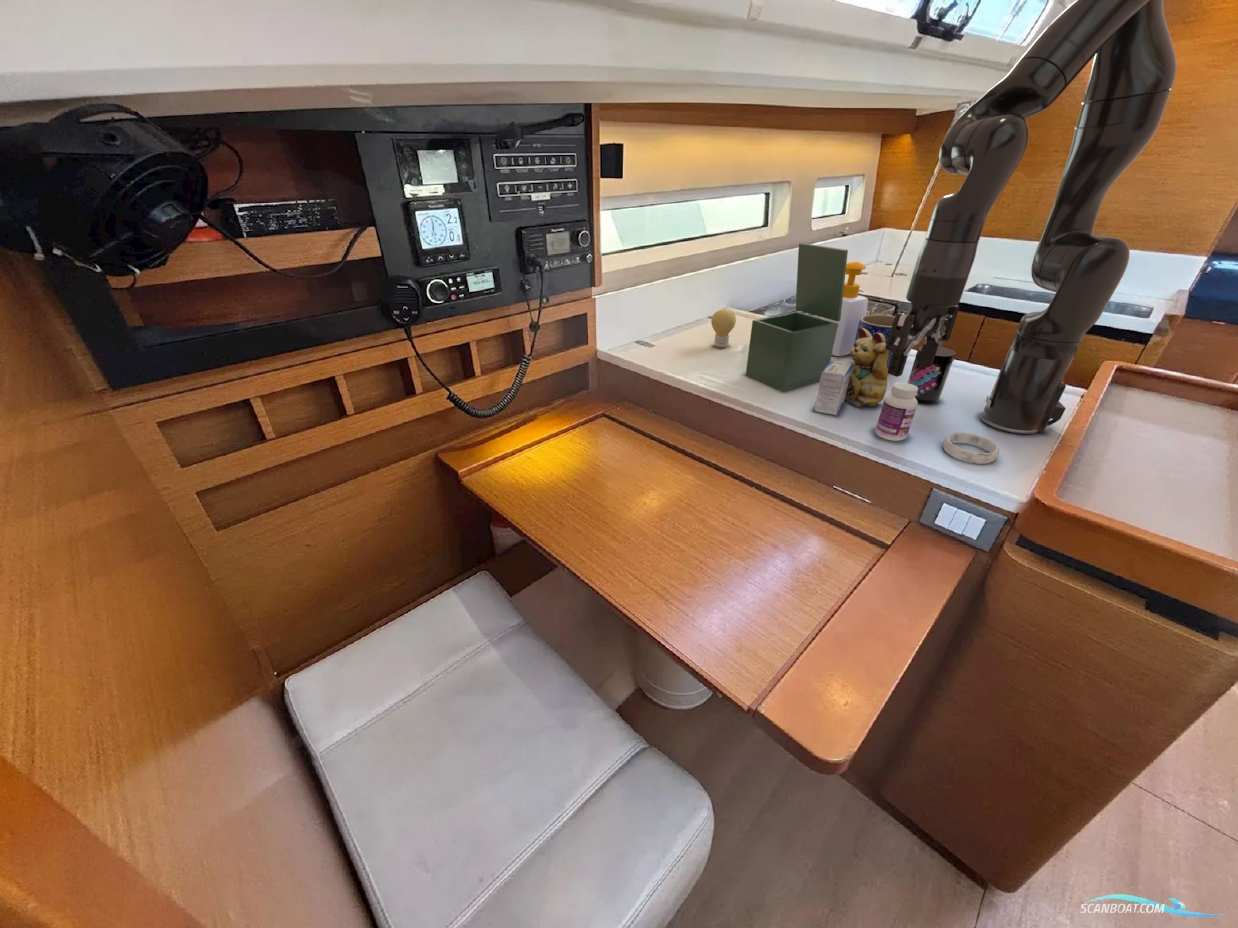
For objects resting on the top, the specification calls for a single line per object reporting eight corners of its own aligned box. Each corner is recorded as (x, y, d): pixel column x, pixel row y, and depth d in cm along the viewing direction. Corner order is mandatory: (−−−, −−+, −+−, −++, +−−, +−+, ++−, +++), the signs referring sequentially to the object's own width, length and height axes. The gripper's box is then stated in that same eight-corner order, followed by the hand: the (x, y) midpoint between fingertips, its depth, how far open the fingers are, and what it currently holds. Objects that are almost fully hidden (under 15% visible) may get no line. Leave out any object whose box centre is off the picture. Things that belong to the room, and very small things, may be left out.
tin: (783, 391, 110) (793, 333, 103) (745, 374, 118) (752, 320, 112) (826, 379, 116) (838, 323, 109) (787, 363, 125) (796, 311, 118)
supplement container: (898, 391, 109) (912, 345, 104) (930, 392, 109) (946, 345, 103) (911, 404, 103) (926, 356, 98) (945, 405, 103) (962, 356, 97)
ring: (971, 439, 90) (975, 430, 89) (1008, 462, 83) (1012, 452, 82) (931, 443, 89) (934, 433, 88) (964, 466, 82) (969, 456, 81)
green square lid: (845, 251, 100) (848, 249, 100) (798, 244, 109) (801, 243, 109) (837, 321, 109) (840, 320, 109) (795, 309, 117) (797, 308, 118)
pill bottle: (903, 444, 89) (919, 394, 84) (871, 436, 92) (885, 387, 87) (909, 433, 93) (925, 384, 88) (878, 425, 95) (892, 378, 90)
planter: (907, 370, 120) (922, 324, 114) (871, 376, 117) (884, 329, 111) (873, 356, 129) (885, 312, 123) (839, 361, 125) (849, 317, 120)
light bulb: (737, 346, 137) (741, 309, 132) (724, 351, 133) (728, 314, 128) (717, 341, 140) (721, 305, 135) (704, 346, 137) (707, 309, 131)
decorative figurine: (830, 395, 108) (845, 326, 100) (859, 389, 110) (877, 321, 103) (863, 412, 100) (883, 339, 92) (894, 406, 103) (916, 334, 95)
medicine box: (836, 416, 99) (846, 375, 94) (813, 411, 101) (821, 371, 96) (844, 402, 105) (854, 362, 100) (822, 397, 107) (830, 359, 102)
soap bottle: (820, 338, 142) (837, 255, 130) (862, 352, 131) (885, 262, 120) (796, 344, 137) (812, 258, 126) (838, 358, 127) (859, 266, 116)
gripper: (938, 280, 71) (904, 386, 80) (991, 271, 78) (954, 369, 86) (890, 271, 77) (863, 371, 85) (943, 263, 83) (913, 357, 92)
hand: (909, 370), depth 86 cm, fingers open, 8 cm apart
